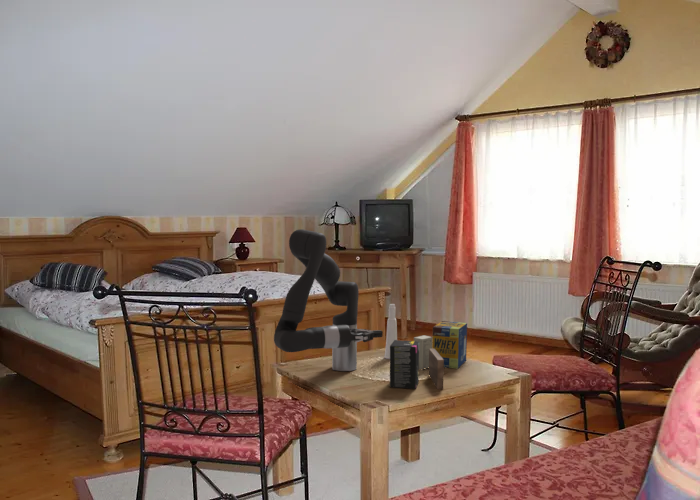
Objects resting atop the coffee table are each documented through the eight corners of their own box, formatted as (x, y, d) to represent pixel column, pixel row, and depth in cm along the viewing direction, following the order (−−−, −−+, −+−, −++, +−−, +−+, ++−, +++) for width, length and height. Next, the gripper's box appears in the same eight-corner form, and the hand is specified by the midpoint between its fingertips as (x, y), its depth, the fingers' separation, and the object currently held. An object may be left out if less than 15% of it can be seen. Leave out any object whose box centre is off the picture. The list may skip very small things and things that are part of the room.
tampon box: (416, 389, 229) (416, 346, 228) (389, 387, 231) (389, 345, 230) (419, 381, 240) (419, 340, 239) (393, 379, 242) (393, 339, 241)
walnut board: (437, 388, 230) (437, 359, 229) (428, 375, 248) (429, 348, 247) (443, 388, 230) (443, 359, 229) (434, 375, 248) (434, 348, 247)
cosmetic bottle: (398, 359, 273) (399, 305, 271) (383, 359, 274) (384, 305, 272) (399, 356, 279) (400, 303, 277) (384, 355, 280) (385, 303, 278)
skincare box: (423, 365, 263) (424, 335, 262) (432, 368, 259) (433, 336, 259) (412, 368, 258) (413, 337, 258) (421, 370, 255) (422, 338, 254)
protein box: (431, 366, 262) (432, 326, 261) (441, 358, 276) (442, 320, 275) (458, 369, 258) (459, 328, 257) (466, 360, 273) (467, 322, 272)
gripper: (342, 328, 218) (390, 325, 224) (327, 322, 230) (373, 319, 236) (341, 351, 218) (390, 348, 225) (327, 344, 230) (373, 340, 237)
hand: (381, 333), depth 231 cm, fingers closed
